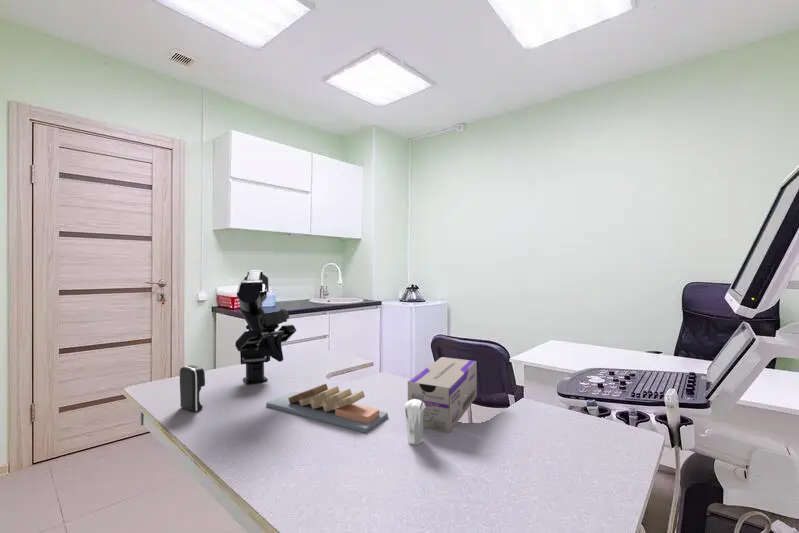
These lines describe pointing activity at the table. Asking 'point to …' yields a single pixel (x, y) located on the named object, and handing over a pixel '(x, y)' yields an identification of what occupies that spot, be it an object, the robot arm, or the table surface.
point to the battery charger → (191, 387)
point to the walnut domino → (308, 393)
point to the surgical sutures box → (445, 391)
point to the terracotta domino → (357, 413)
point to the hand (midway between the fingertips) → (281, 360)
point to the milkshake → (415, 420)
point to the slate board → (322, 413)
